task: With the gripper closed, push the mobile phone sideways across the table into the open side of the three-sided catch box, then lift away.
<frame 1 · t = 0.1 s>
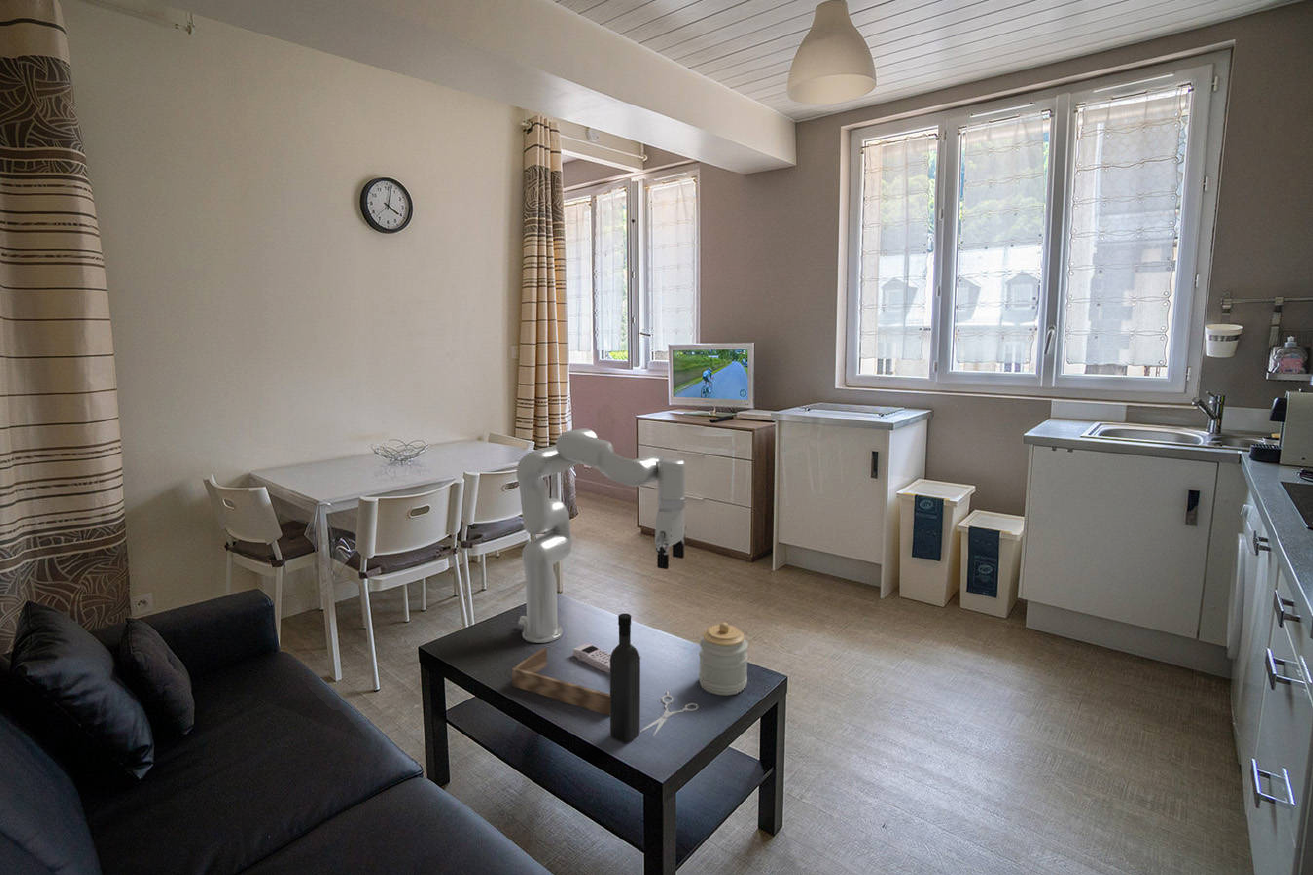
hand: (670, 562, 188), 31 cm above the table, tool pointing down, fingers open, 9 cm apart
scissors: (665, 717, 168), on the table
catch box: (575, 688, 181), on the table
mobile phone: (603, 666, 194), on the table
jar: (722, 684, 184), on the table
wine bottle: (624, 735, 160), on the table
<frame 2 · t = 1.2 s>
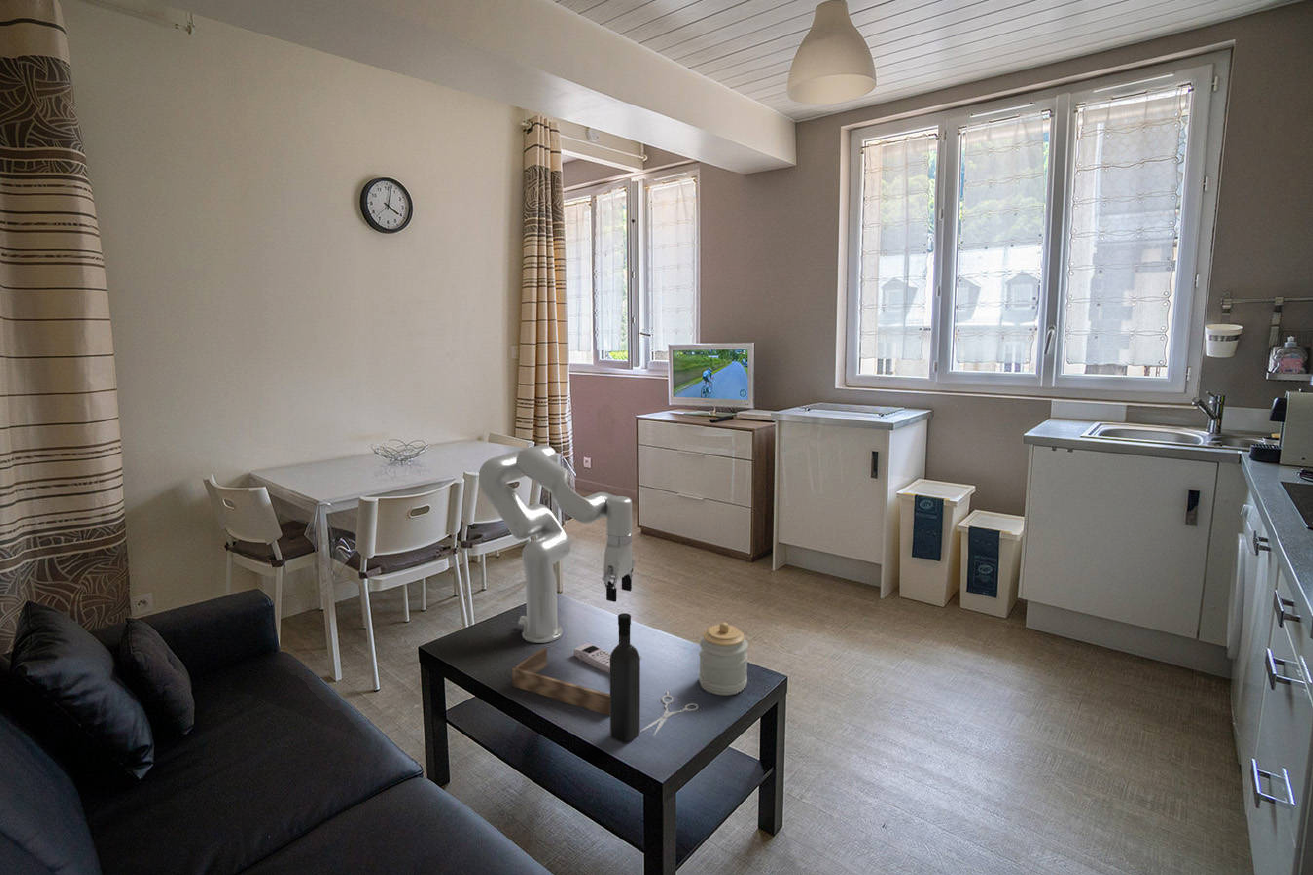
hand: (619, 595, 199), 18 cm above the table, tool pointing down, fingers open, 8 cm apart
nothing on the table moved.
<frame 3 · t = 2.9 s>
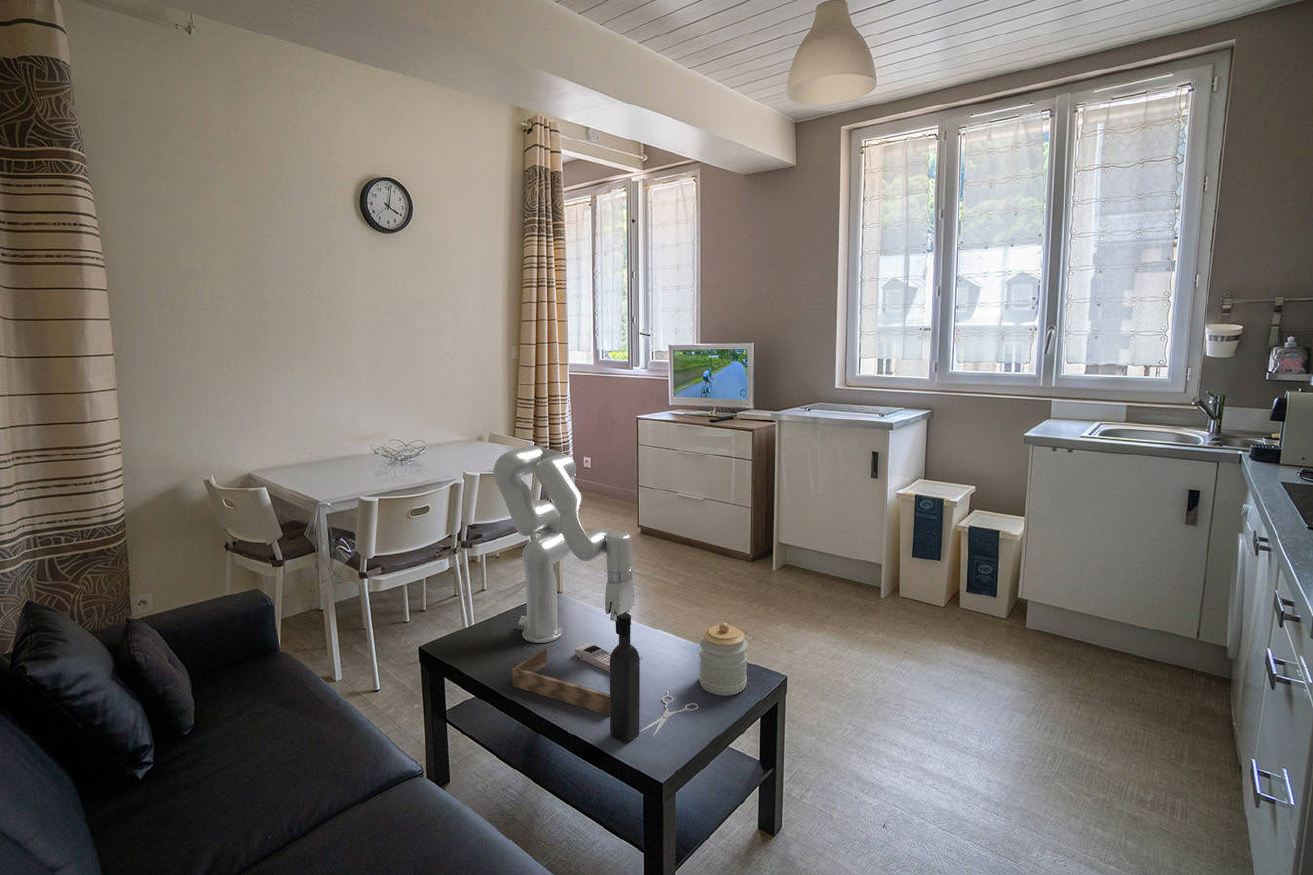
hand: (621, 633, 200), 6 cm above the table, tool pointing down, fingers closed
nothing on the table moved.
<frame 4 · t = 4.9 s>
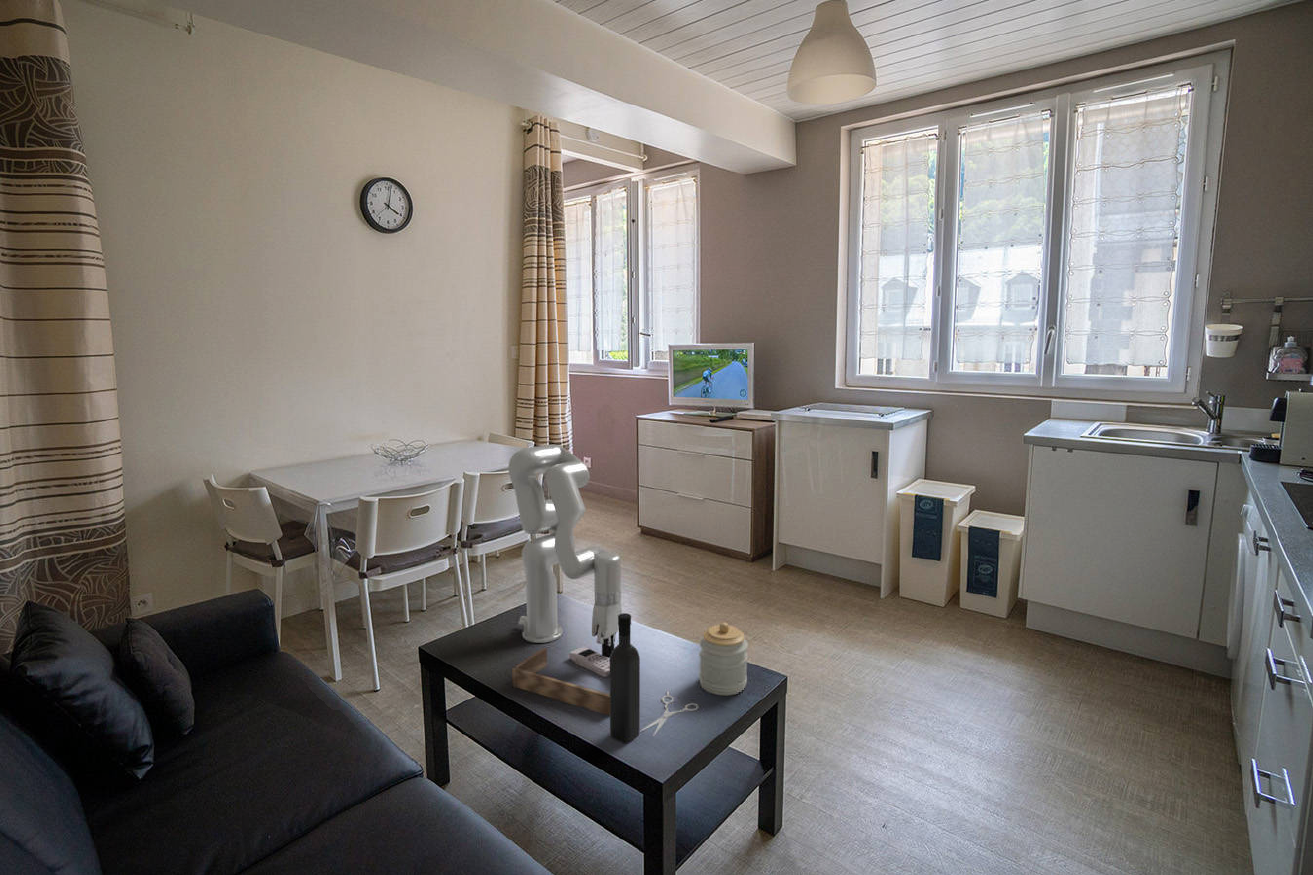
hand: (608, 655, 196), 2 cm above the table, tool pointing down, fingers closed
mobile phone: (600, 670, 192), on the table, touching gripper
everything else where it was.
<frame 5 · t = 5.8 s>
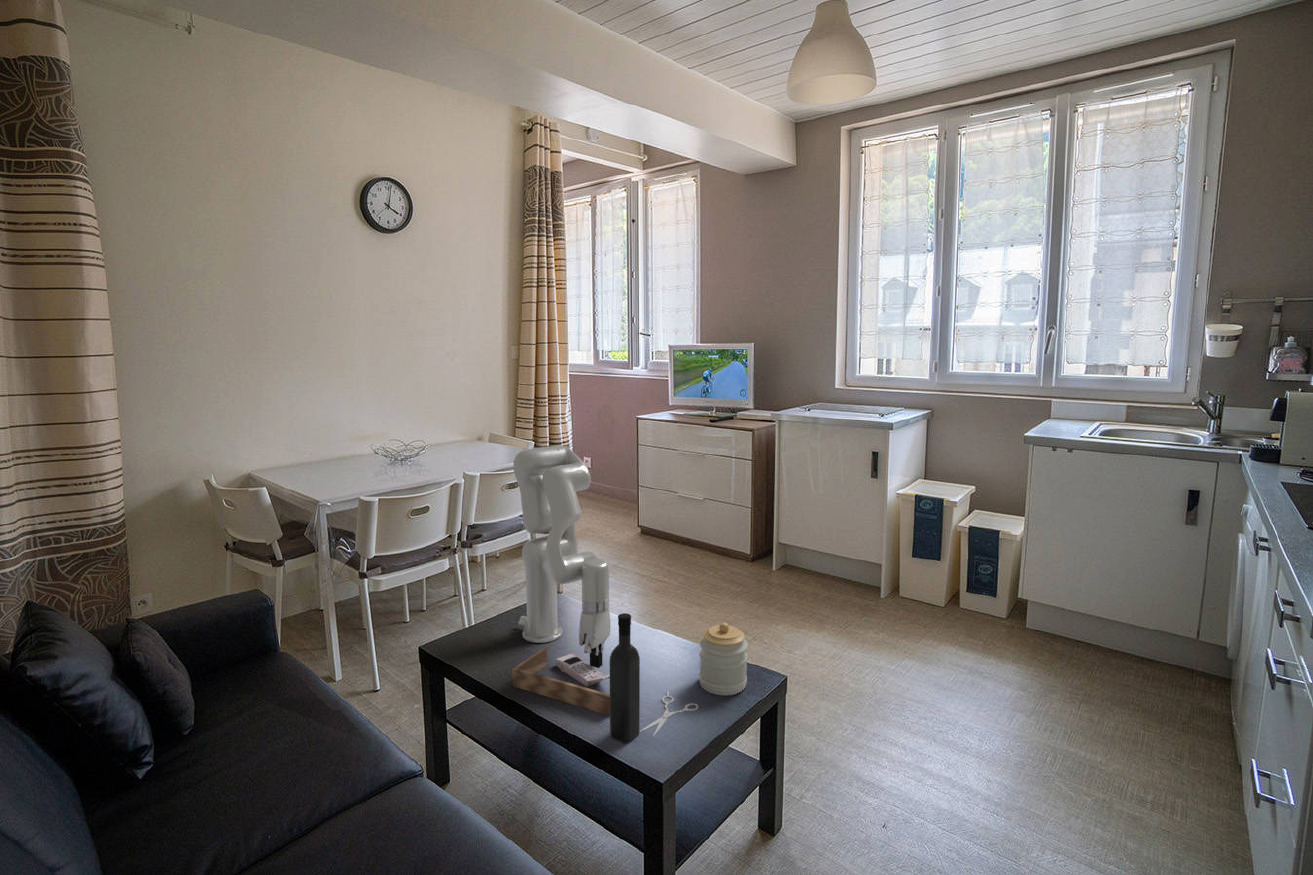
hand: (596, 665, 190), 2 cm above the table, tool pointing down, fingers closed
mobile phone: (584, 678, 187), on the table, touching gripper
everything else where it was.
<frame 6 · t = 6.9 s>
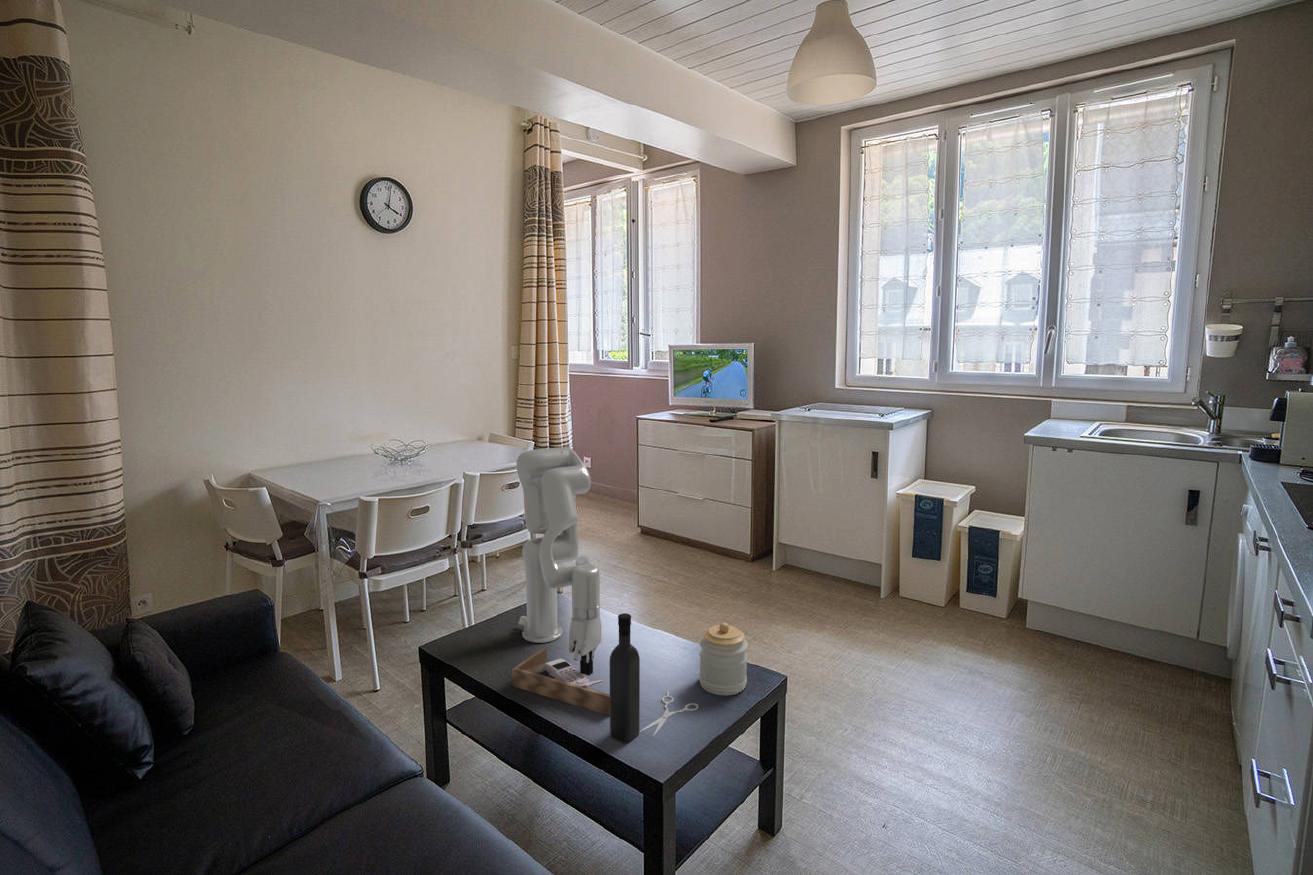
hand: (586, 673, 186), 2 cm above the table, tool pointing down, fingers closed
mobile phone: (571, 684, 184), on the table, touching gripper
everything else where it was.
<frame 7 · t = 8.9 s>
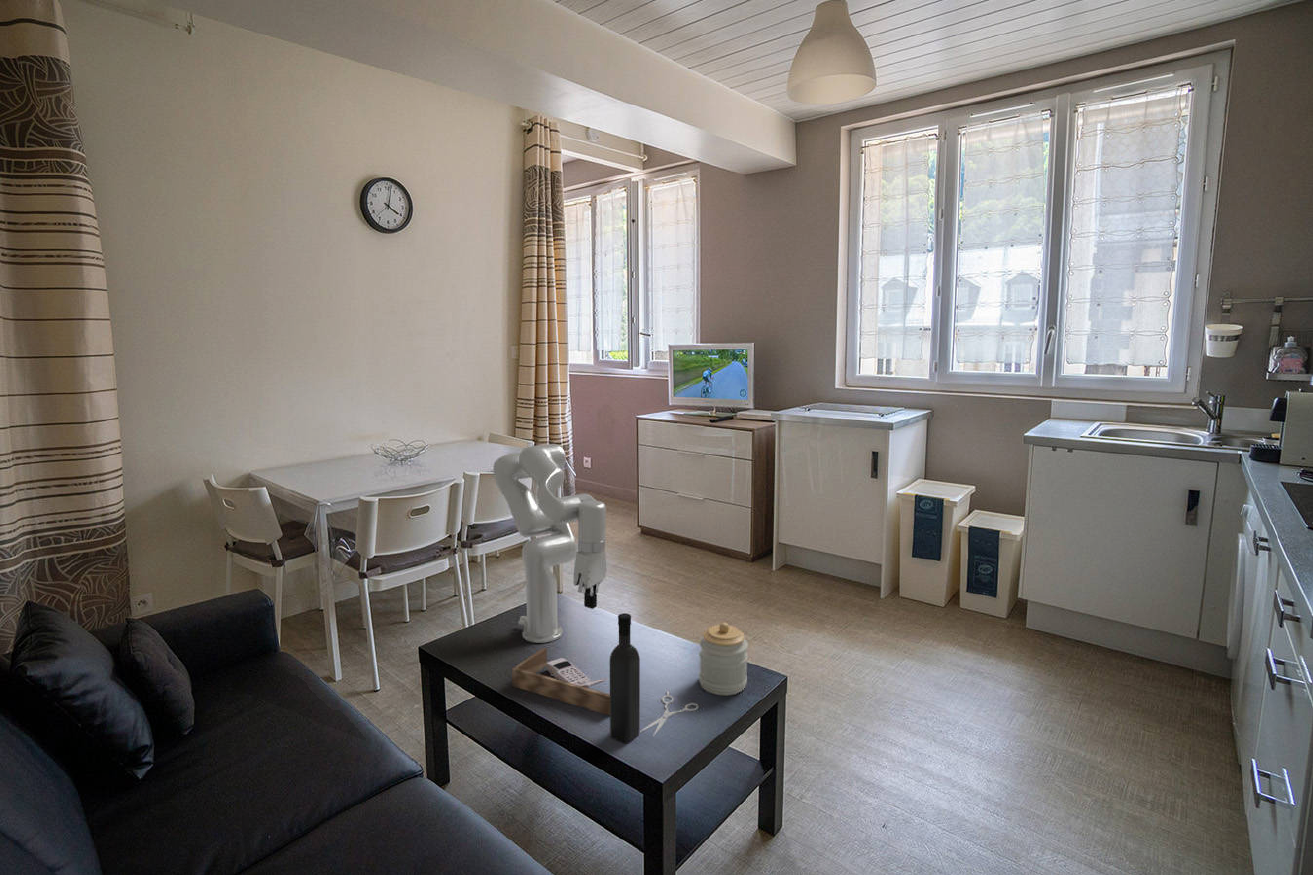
hand: (590, 606, 190), 18 cm above the table, tool pointing down, fingers closed
mobile phone: (572, 684, 184), on the table
everything else where it was.
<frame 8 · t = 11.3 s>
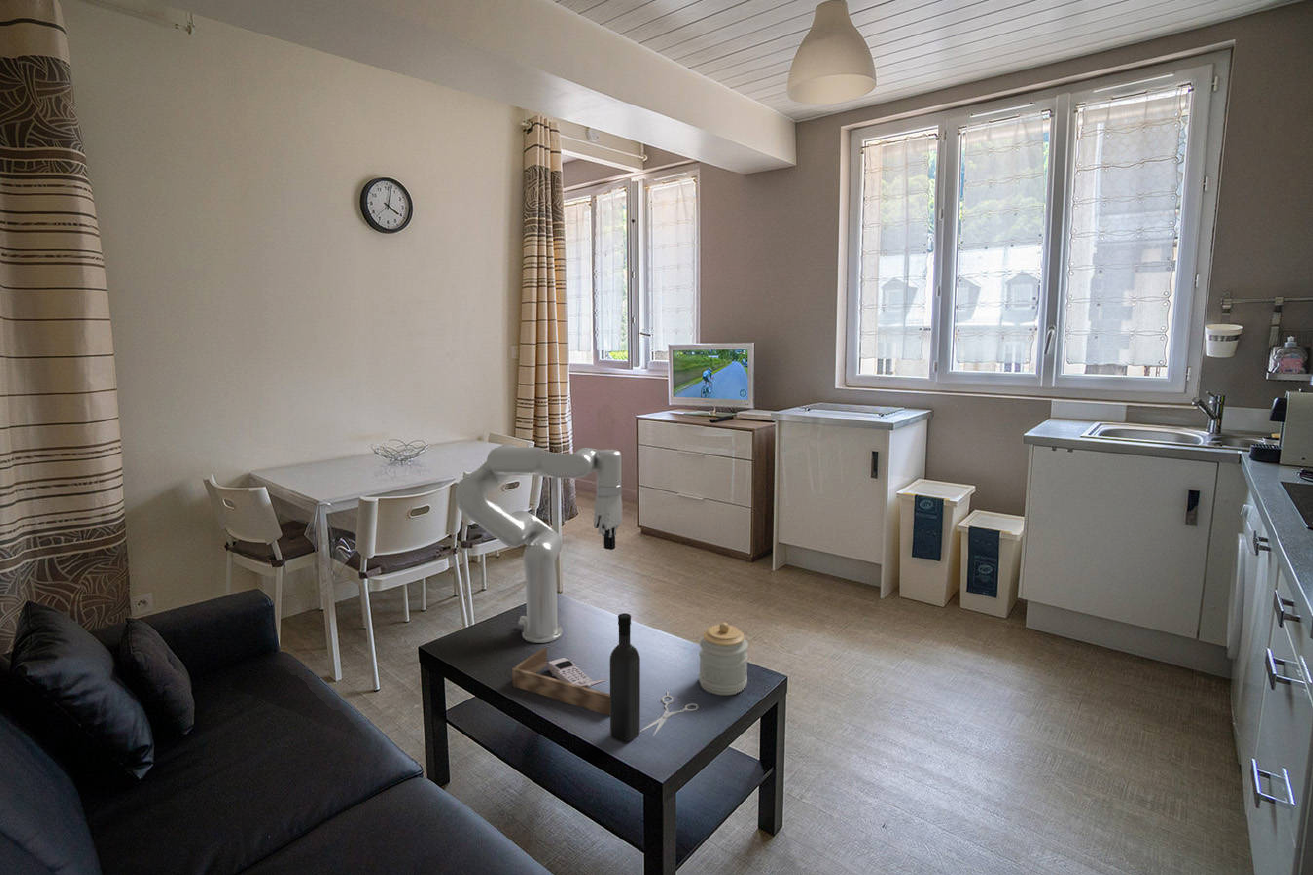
hand: (609, 548, 207), 29 cm above the table, tool pointing down, fingers closed
nothing on the table moved.
at the end: mobile phone inside the target area on the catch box (3.6 cm from its centre), point -0.5 cm above the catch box's base; mobile phone moved 12.4 cm from its start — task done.
